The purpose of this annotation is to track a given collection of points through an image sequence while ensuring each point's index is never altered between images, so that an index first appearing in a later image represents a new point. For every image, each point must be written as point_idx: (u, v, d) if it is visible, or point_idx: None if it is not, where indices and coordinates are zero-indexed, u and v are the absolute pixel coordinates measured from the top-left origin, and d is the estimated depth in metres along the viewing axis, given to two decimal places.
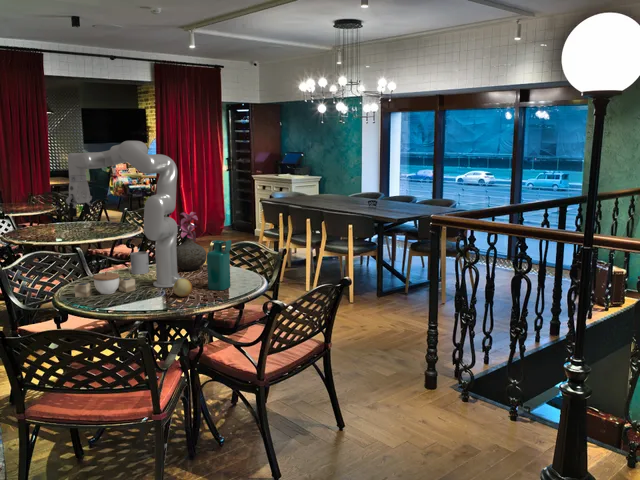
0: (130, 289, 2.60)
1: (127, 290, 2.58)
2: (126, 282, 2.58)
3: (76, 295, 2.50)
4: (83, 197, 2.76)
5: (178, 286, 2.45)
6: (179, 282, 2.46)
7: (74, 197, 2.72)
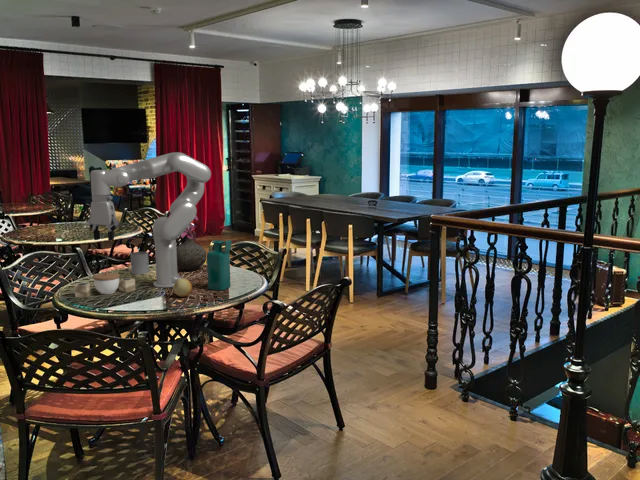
0: (130, 289, 2.60)
1: (127, 290, 2.58)
2: (126, 282, 2.58)
3: (76, 295, 2.50)
4: None
5: (178, 286, 2.45)
6: (179, 282, 2.46)
7: (114, 217, 2.52)
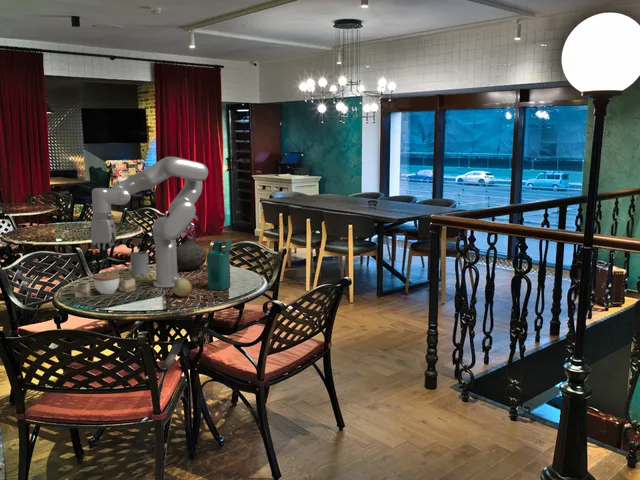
0: (130, 289, 2.60)
1: (127, 290, 2.58)
2: (126, 282, 2.58)
3: (76, 295, 2.50)
4: None
5: (178, 286, 2.45)
6: (179, 282, 2.46)
7: (115, 235, 2.53)
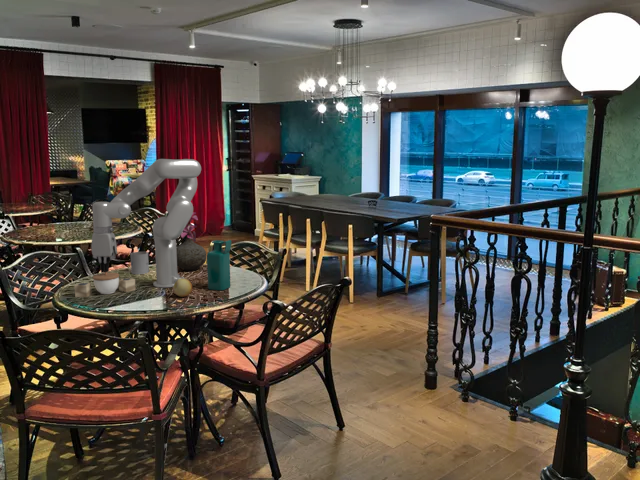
0: (130, 289, 2.60)
1: (127, 290, 2.58)
2: (126, 282, 2.58)
3: (76, 295, 2.50)
4: None
5: (178, 286, 2.45)
6: (179, 282, 2.46)
7: (115, 248, 2.54)
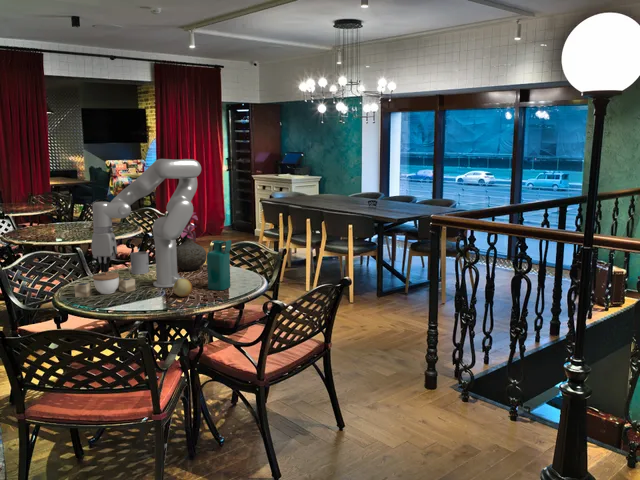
0: (130, 289, 2.60)
1: (127, 290, 2.58)
2: (126, 282, 2.58)
3: (76, 295, 2.50)
4: None
5: (178, 286, 2.45)
6: (179, 282, 2.46)
7: (115, 248, 2.54)
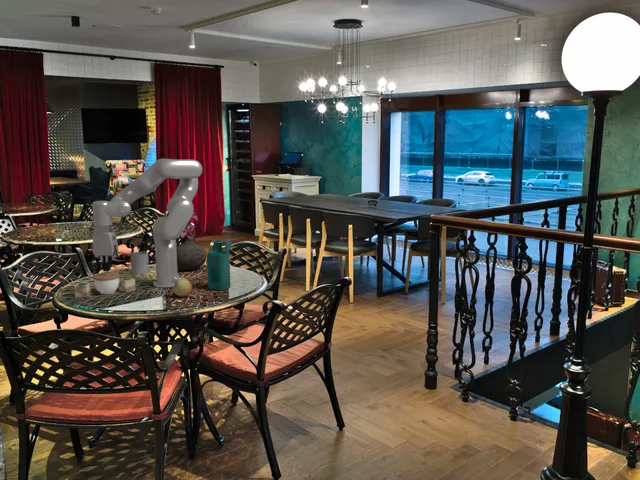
0: (130, 289, 2.60)
1: (127, 290, 2.58)
2: (126, 282, 2.58)
3: (76, 295, 2.50)
4: None
5: (178, 286, 2.45)
6: (179, 282, 2.46)
7: (117, 247, 2.54)
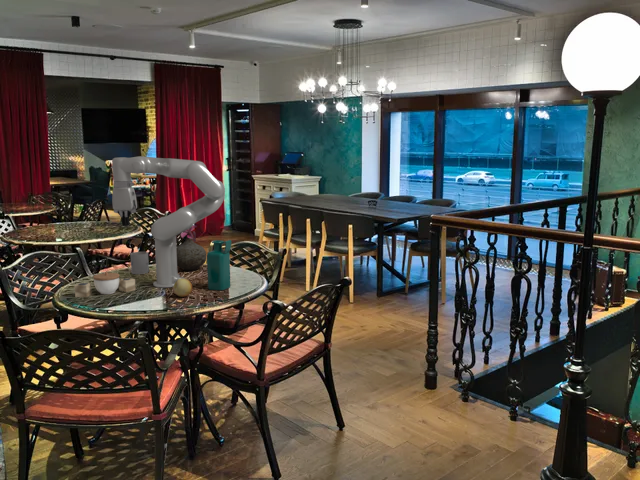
0: (130, 289, 2.60)
1: (127, 290, 2.58)
2: (126, 282, 2.58)
3: (76, 295, 2.50)
4: None
5: (178, 286, 2.45)
6: (179, 282, 2.46)
7: (135, 202, 2.63)
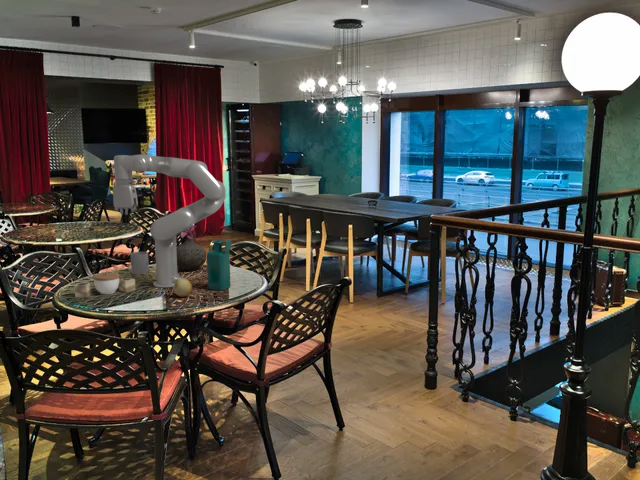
0: (130, 289, 2.60)
1: (127, 290, 2.58)
2: (126, 282, 2.58)
3: (76, 295, 2.50)
4: None
5: (178, 286, 2.45)
6: (179, 282, 2.46)
7: (136, 200, 2.64)
